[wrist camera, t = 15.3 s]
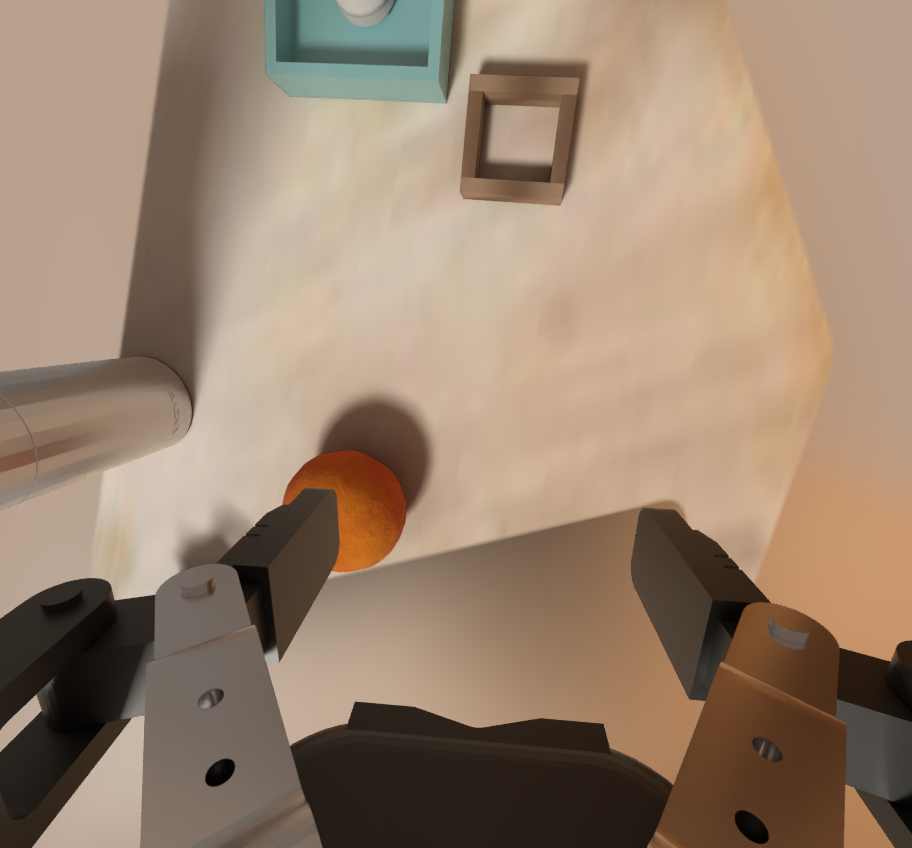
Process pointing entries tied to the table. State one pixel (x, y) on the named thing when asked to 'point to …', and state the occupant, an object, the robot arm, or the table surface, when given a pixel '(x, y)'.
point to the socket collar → (519, 94)
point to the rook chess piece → (365, 11)
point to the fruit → (357, 504)
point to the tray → (359, 51)
